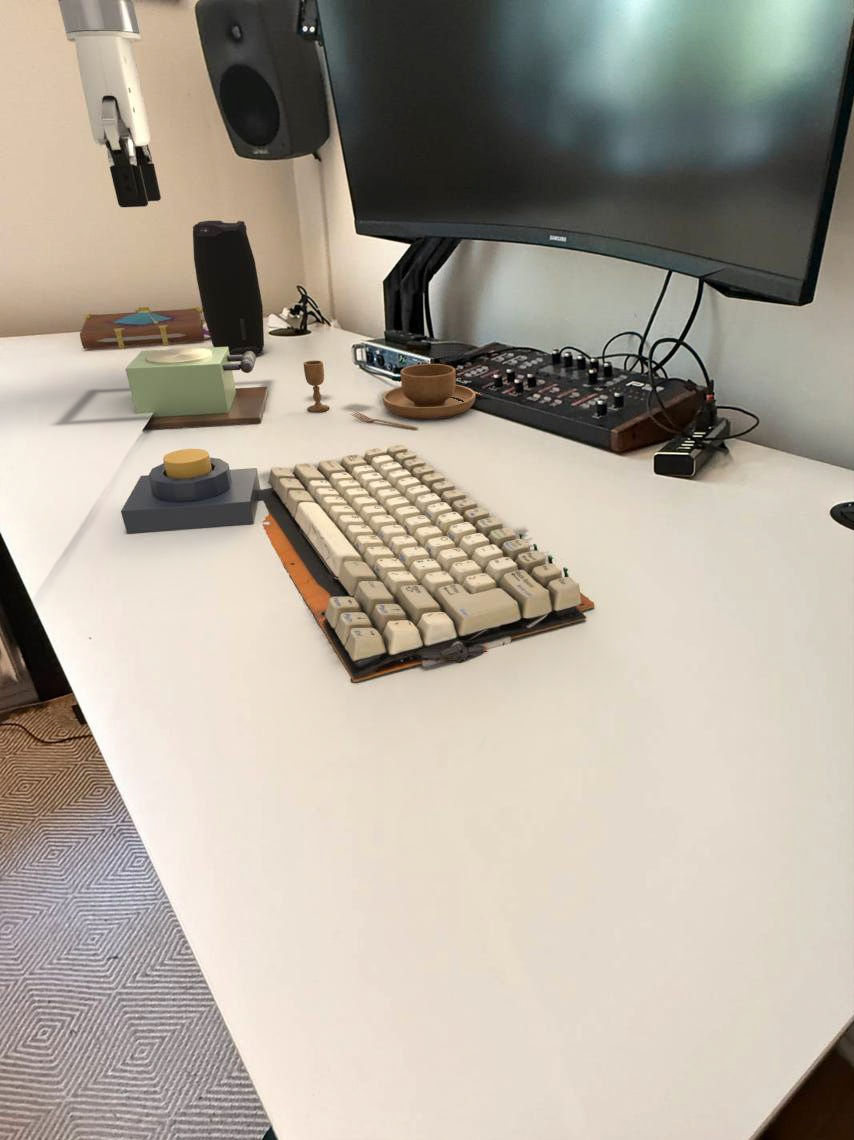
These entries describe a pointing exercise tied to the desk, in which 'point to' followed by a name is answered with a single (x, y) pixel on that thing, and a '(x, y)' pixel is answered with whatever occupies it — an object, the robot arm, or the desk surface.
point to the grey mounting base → (192, 500)
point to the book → (142, 328)
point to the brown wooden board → (242, 411)
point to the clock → (185, 380)
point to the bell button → (187, 463)
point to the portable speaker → (228, 286)
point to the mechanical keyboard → (408, 564)
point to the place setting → (409, 393)
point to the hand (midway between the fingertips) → (141, 203)
